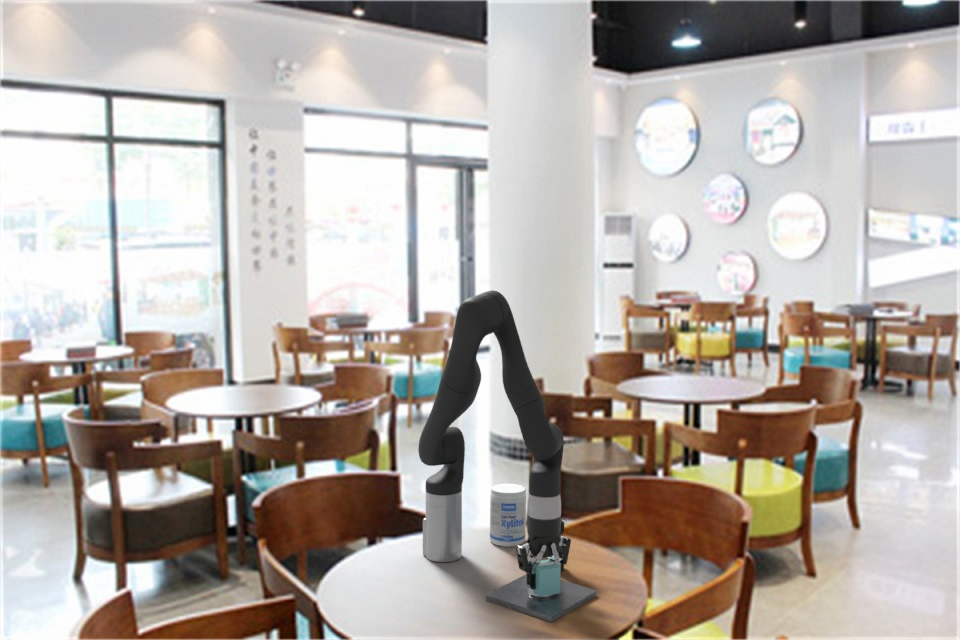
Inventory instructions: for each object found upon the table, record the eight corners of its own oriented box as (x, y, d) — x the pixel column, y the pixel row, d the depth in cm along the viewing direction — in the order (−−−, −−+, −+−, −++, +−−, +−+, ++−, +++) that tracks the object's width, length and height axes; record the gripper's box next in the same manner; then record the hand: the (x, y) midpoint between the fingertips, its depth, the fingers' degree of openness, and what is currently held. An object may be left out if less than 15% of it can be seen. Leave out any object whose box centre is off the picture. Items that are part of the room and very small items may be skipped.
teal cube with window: (539, 596, 193) (539, 568, 192) (529, 587, 197) (529, 560, 197) (560, 593, 195) (560, 565, 194) (549, 584, 199) (550, 557, 199)
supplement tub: (503, 550, 226) (504, 495, 225) (482, 540, 234) (482, 486, 232) (532, 543, 232) (533, 489, 230) (511, 533, 239) (511, 481, 238)
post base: (485, 599, 195) (485, 572, 195) (532, 575, 209) (532, 550, 208) (551, 622, 184) (552, 593, 183) (596, 595, 198) (597, 568, 197)
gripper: (526, 522, 188) (525, 598, 190) (579, 512, 196) (578, 585, 197) (508, 513, 195) (507, 586, 196) (560, 503, 202) (558, 574, 204)
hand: (542, 585), depth 197 cm, fingers closed on teal cube with window, 5 cm apart
